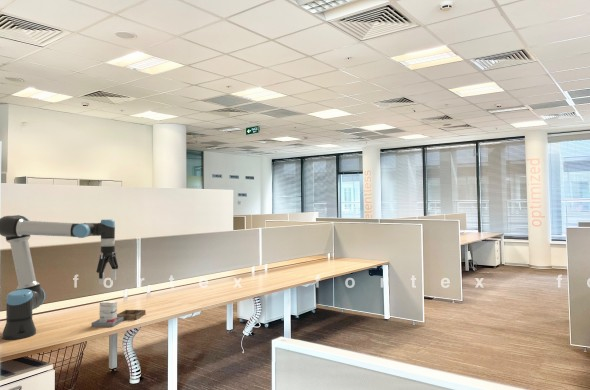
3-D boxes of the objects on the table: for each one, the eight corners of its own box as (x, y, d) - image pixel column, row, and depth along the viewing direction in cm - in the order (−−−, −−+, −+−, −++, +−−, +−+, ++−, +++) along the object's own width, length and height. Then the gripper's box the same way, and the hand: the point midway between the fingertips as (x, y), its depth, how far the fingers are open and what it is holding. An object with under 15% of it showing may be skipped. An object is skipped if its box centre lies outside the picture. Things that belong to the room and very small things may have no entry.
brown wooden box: (115, 319, 254) (115, 314, 254) (125, 314, 267) (125, 309, 267) (136, 319, 253) (136, 314, 253) (145, 314, 266) (145, 309, 266)
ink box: (117, 321, 248) (117, 301, 248) (112, 323, 243) (112, 303, 243) (104, 321, 250) (104, 300, 250) (98, 323, 245) (98, 302, 245)
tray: (91, 326, 240) (91, 322, 240) (103, 320, 253) (103, 317, 253) (113, 326, 239) (113, 322, 239) (123, 320, 252) (123, 317, 252)
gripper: (102, 247, 235) (102, 285, 234) (124, 243, 260) (124, 278, 259) (89, 247, 235) (89, 285, 234) (112, 243, 260) (112, 278, 259)
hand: (107, 282), depth 247 cm, fingers open, 13 cm apart
